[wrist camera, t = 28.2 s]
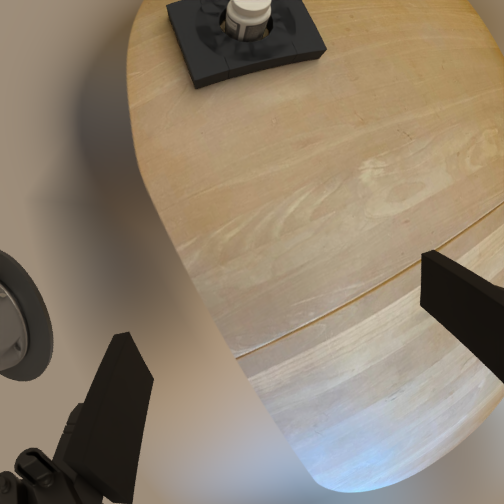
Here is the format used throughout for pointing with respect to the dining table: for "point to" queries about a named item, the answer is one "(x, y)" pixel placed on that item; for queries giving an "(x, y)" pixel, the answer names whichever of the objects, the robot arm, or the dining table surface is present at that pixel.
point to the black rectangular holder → (236, 52)
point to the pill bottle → (247, 19)
